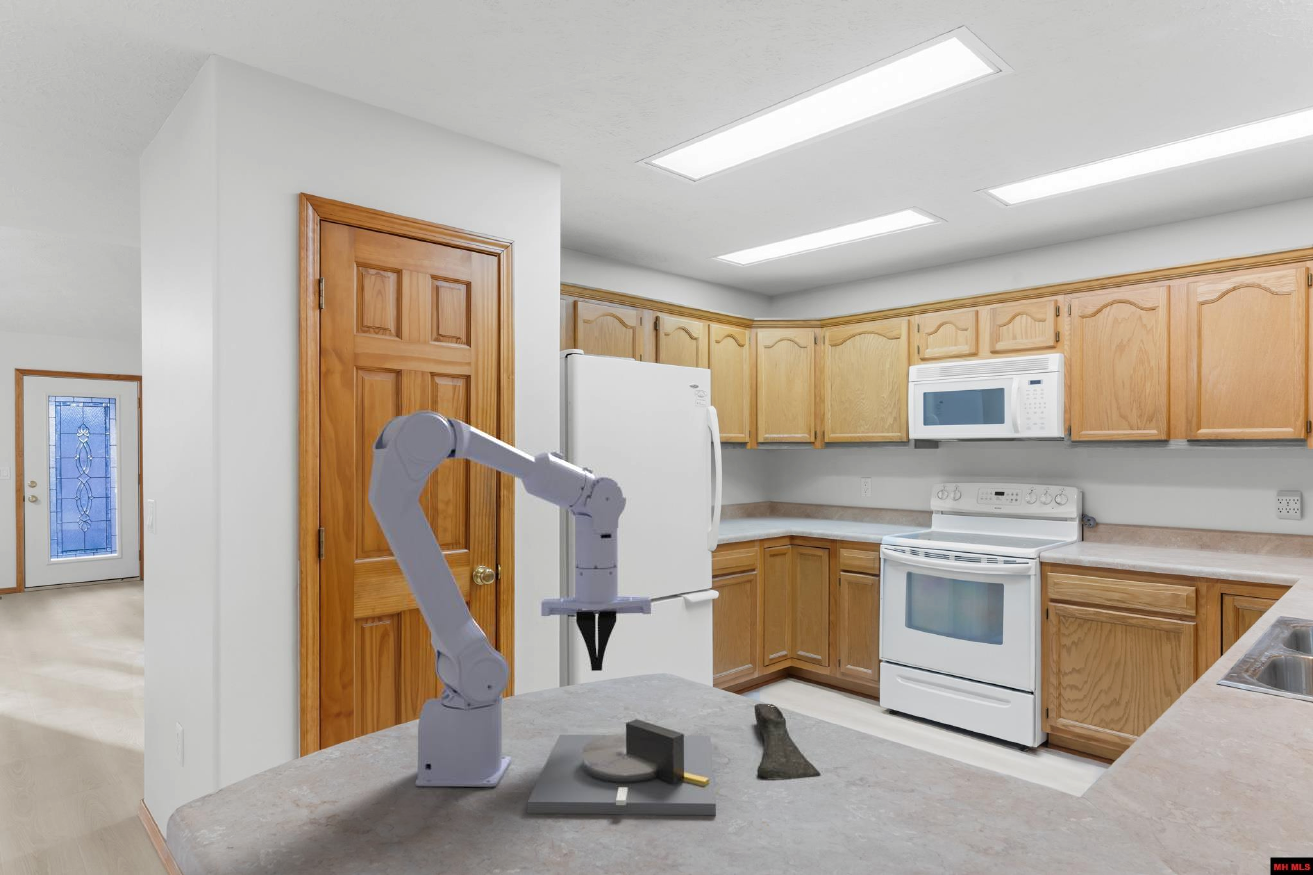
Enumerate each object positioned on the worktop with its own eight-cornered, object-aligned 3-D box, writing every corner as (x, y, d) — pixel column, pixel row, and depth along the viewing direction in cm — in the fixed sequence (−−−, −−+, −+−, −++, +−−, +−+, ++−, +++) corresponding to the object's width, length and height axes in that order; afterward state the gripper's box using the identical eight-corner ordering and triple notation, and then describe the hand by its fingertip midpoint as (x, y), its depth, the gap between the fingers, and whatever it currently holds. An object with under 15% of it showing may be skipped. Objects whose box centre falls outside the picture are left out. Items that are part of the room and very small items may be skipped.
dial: (563, 763, 89) (563, 721, 89) (629, 738, 97) (628, 699, 97) (644, 797, 80) (644, 749, 80) (709, 766, 88) (709, 723, 88)
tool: (822, 792, 88) (825, 767, 88) (758, 789, 87) (760, 763, 87) (785, 715, 109) (787, 695, 108) (733, 712, 108) (734, 692, 108)
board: (526, 815, 79) (526, 799, 79) (559, 743, 99) (559, 730, 99) (716, 817, 78) (715, 801, 78) (710, 744, 99) (710, 731, 99)
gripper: (538, 571, 96) (539, 678, 95) (651, 569, 97) (652, 675, 96) (544, 564, 103) (544, 663, 102) (649, 562, 104) (650, 661, 103)
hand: (596, 668), depth 100 cm, fingers closed
